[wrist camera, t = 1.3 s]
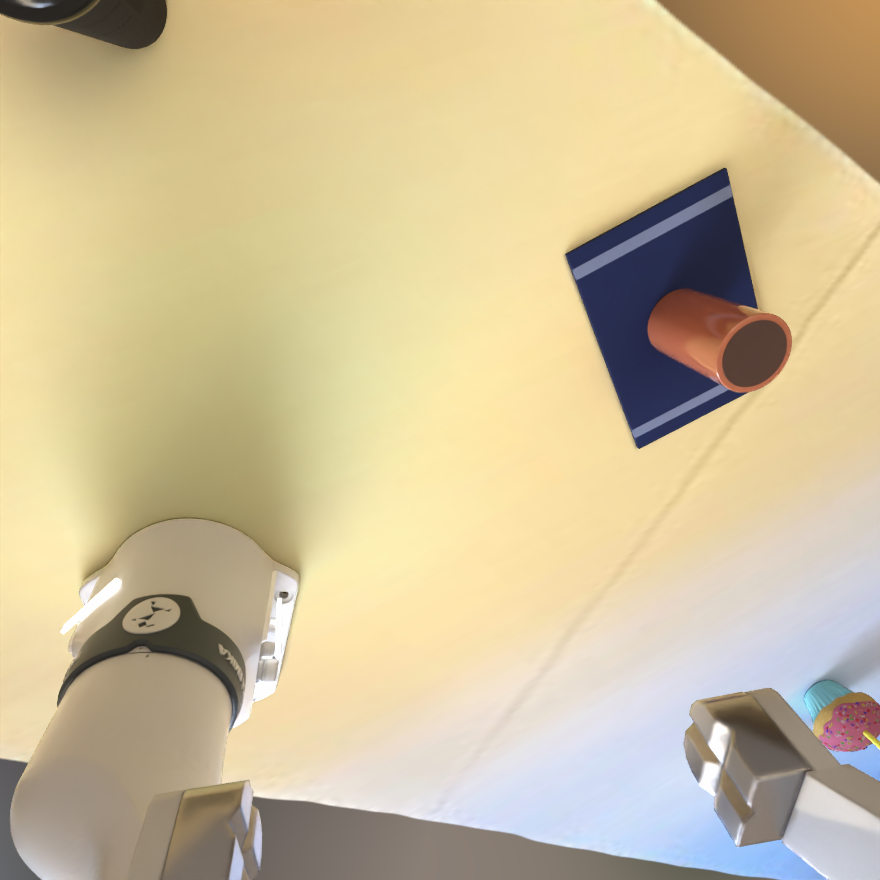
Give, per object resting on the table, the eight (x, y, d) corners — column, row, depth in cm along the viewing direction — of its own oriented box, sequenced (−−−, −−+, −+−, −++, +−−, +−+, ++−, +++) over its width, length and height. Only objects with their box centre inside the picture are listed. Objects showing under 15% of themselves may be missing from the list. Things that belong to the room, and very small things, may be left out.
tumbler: (700, 355, 51) (777, 393, 42) (640, 353, 50) (707, 392, 41) (717, 289, 49) (804, 315, 40) (655, 286, 48) (729, 311, 39)
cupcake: (792, 680, 73) (871, 766, 63) (853, 660, 74) (942, 743, 63) (790, 723, 77) (863, 812, 66) (848, 704, 77) (930, 789, 67)
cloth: (770, 378, 54) (773, 379, 53) (636, 447, 55) (639, 449, 54) (723, 167, 45) (726, 167, 45) (565, 253, 46) (566, 254, 45)
